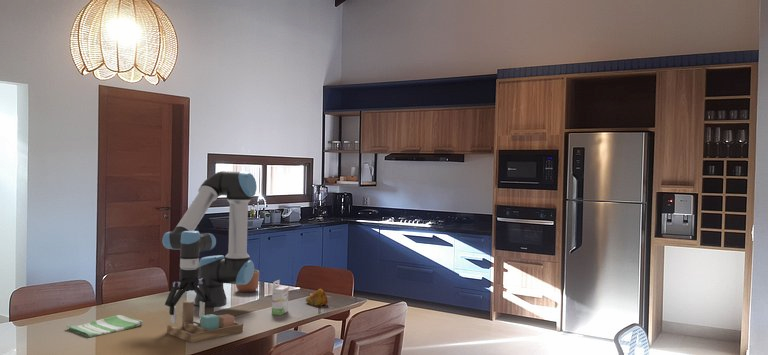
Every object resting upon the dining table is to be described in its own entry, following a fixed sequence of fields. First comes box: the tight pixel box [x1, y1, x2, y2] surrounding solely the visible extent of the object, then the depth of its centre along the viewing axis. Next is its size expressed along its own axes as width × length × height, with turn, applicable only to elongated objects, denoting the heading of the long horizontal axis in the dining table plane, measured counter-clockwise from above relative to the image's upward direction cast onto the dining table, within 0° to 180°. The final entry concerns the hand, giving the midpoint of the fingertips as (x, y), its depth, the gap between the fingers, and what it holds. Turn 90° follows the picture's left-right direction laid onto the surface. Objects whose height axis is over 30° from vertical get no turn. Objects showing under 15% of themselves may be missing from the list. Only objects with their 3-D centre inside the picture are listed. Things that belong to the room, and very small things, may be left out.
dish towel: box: [66, 314, 144, 339], centre depth 238 cm, size 18×23×3 cm
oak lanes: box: [166, 318, 244, 343], centre depth 235 cm, size 18×23×3 cm
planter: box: [235, 269, 260, 293], centre depth 318 cm, size 12×12×11 cm
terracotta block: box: [218, 313, 235, 327], centre depth 238 cm, size 5×5×6 cm
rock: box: [305, 288, 329, 307], centre depth 292 cm, size 11×8×10 cm
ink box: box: [271, 279, 290, 316], centre depth 271 cm, size 9×5×15 cm, turn 168°
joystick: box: [181, 300, 219, 330], centre depth 238 cm, size 21×5×10 cm, turn 49°
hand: (187, 320), depth 243 cm, fingers open, 12 cm apart
